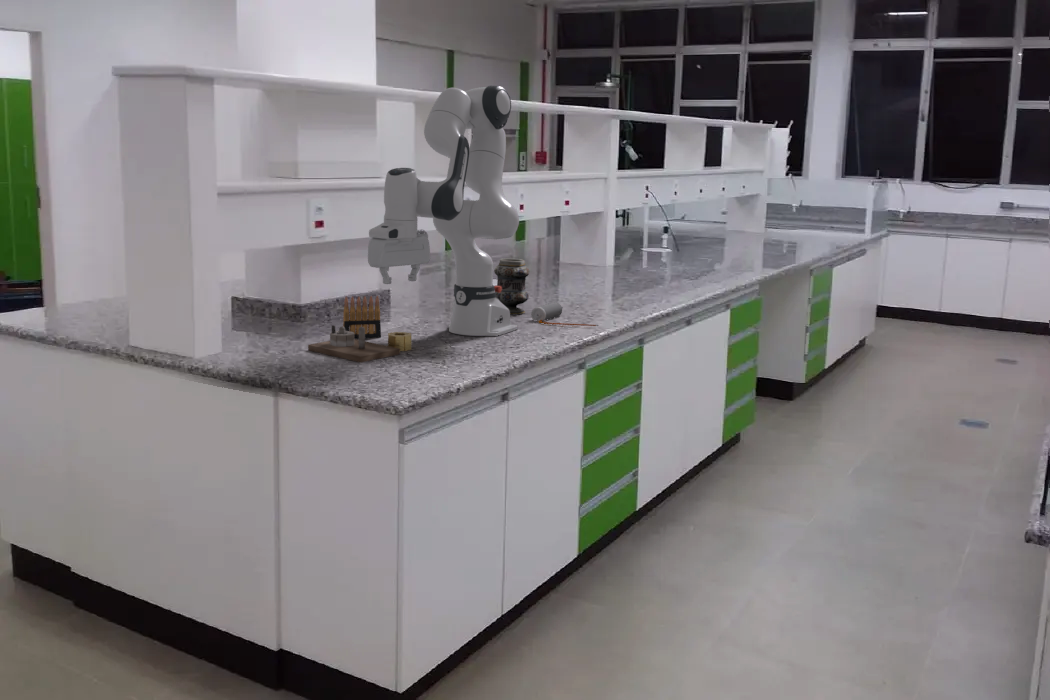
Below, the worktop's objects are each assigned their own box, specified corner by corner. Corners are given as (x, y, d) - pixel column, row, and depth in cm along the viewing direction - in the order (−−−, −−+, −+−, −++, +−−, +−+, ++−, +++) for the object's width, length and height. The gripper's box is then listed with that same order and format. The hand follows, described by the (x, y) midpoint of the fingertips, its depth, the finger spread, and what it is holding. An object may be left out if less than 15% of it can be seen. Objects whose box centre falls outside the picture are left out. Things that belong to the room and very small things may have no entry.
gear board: (347, 342, 260) (347, 316, 258) (399, 354, 248) (400, 327, 246) (308, 350, 249) (307, 323, 247) (360, 362, 237) (360, 334, 235)
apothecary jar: (531, 310, 323) (533, 258, 319) (523, 316, 311) (525, 262, 307) (497, 308, 325) (499, 256, 321) (488, 313, 314) (489, 260, 310)
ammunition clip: (343, 338, 265) (343, 296, 262) (342, 337, 267) (342, 295, 264) (381, 337, 269) (381, 296, 266) (379, 336, 270) (380, 295, 268)
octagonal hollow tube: (399, 345, 259) (399, 331, 258) (415, 348, 255) (416, 334, 255) (383, 348, 254) (383, 334, 253) (399, 352, 251) (399, 337, 250)
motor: (524, 322, 301) (527, 307, 300) (553, 312, 321) (556, 298, 319) (589, 342, 292) (592, 327, 290) (616, 331, 311) (619, 317, 310)
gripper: (419, 228, 258) (418, 278, 261) (364, 230, 242) (363, 284, 245) (436, 230, 254) (435, 280, 257) (381, 232, 238) (380, 286, 241)
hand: (399, 282), depth 251 cm, fingers open, 8 cm apart
